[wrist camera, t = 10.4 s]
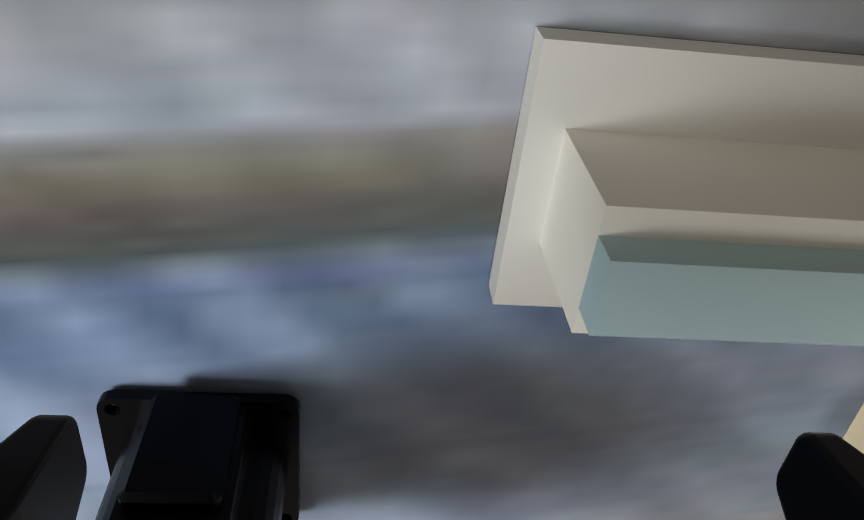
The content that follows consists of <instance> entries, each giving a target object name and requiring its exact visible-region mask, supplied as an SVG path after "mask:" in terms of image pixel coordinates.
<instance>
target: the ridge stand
mask: <svg viewBox="0 0 864 520" xmlns="http://www.w3.org/2000/svg"><path fill="white" fill-rule="evenodd" d="M489 288H490V293H491V297H492V301H493V304H500V305H523V306H546V307H563V310H564V313H565V315H566V318H567V321H568V324H569V327H570V329H571V332H572V333H586V334H589V336H611V337H637V338H663V339H689V340H715V341H741V342H767V343H794V344H820V345H846V346H864V56H863V55H852V54H841V53H829V52H818V51H807V50H795V49H784V48H773V47H762V46H750V45H739V44H728V43H716V42H705V41H694V40H683V39H671V38H660V37H649V36H638V35H626V34H615V33H604V32H592V31H581V30H570V29H559V28H547V27H536V29H535V35H534V40H533V46H532V51H531V57H530V62H529V67H528V73H527V78H526V84H525V89H524V95H523V100H522V106H521V111H520V117H519V122H518V128H517V133H516V138H515V144H514V149H513V155H512V160H511V166H510V171H509V177H508V182H507V188H506V193H505V198H504V204H503V209H502V215H501V220H500V226H499V231H498V237H497V242H496V248H495V253H494V258H493V264H492V269H491V275H490V280H489Z"/></svg>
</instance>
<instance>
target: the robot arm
mask: <svg viewBox="0 0 864 520" xmlns="http://www.w3.org/2000/svg"><path fill="white" fill-rule="evenodd" d="M111 404H114V405H117V406H118V407H117V406H113V405H111ZM283 408H285V409H289V410H287V411H284V410H281V409H283ZM97 414H98V419H99V424H100V428H101V433H102V438H103V443H104V448H105V453H106V457H107V462H108V467H109V472H110V477H111V478H110V481H109V484H108V486H107V489H106V492H105V495H104V497H103V500H102V503H101V505H100V508H99V511H98V514H97V516H96V519H95V520H298V518H299V500H300V403H299V401H298V400H297V399H296V398H295V397H293V396H291V395H285V394H248V393H211V392H174V391H137V390H109V391H106V392H104V393H103V394H102V395H101V397H100V399H99V401H98V404H97ZM86 472H87V466H86V459H85V455H84V451H83V446H82V442H81V438H80V434H79V429H78V425H77V423H76V421H75V419H74V418H73V417H71V416H67V415H38V416H35V417H33V418H31V419H30V420H28V421H27V422H26V423H25V424H23V425H22V426H21V427H20V428H18V429H17V430H16V431H15V432H14V433H12V434H11V435H10V436H9V437H7V438H6V439H5V440H4V441H3V442H1V443H0V520H76V516H77V513H78V509H79V505H80V501H81V497H82V493H83V489H84V485H85V481H86ZM776 485H777V492H778V496H779V499H780V502H781V505H782V509H783V512H784V515H785V518H786V520H864V454H863V453H862V452H860V451H859V450H858V449H856V448H855V447H853V446H852V445H851V444H849V443H848V442H846V441H845V440H844V439H842V438H841V437H839V436H838V435H835V434H832V433H812V432H807V433H803V434H801V435H800V436H799V437H798V438H797V439H796V441H795V442H794V444H793V446H792V448H791V450H790V451H789V453H788V455H787V457H786V459H785V461H784V462H783V464H782V466H781V468H780V470H779V472H778V475H777V482H776Z"/></svg>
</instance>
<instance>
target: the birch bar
mask: <svg viewBox="0 0 864 520" xmlns="http://www.w3.org/2000/svg"><path fill="white" fill-rule="evenodd" d="M843 439H844V440H845V441H846V442H848V443H849V444H851V445H852V446H853V447H855V448H856V449H858V450H859V451H860V452H862V453H863V454H864V404H863V405H862V407H861V409H860V410H859V412H858V414H857V415H856V417H855V419H854V420H853V422H852V424H851V425H850V427H849V429H848V430H847V432H846V434H845V435H844V437H843Z"/></svg>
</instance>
